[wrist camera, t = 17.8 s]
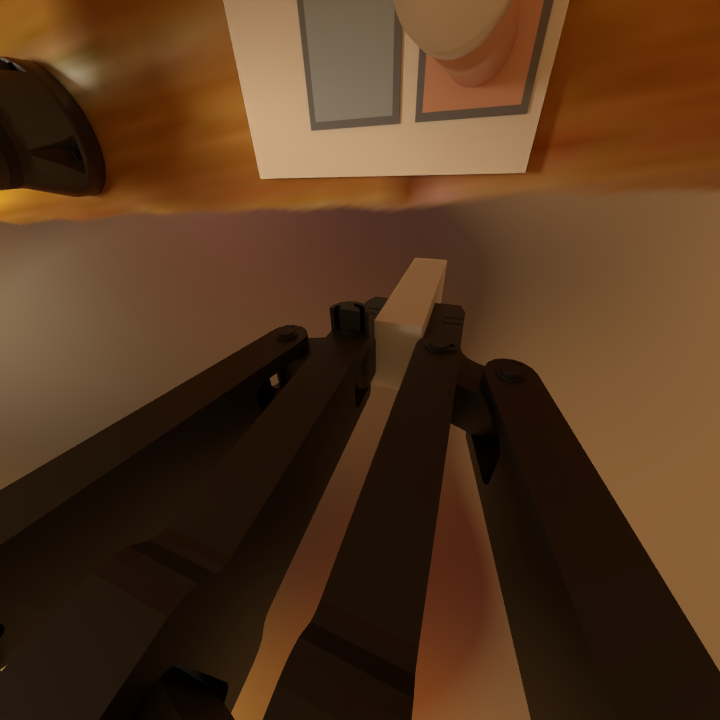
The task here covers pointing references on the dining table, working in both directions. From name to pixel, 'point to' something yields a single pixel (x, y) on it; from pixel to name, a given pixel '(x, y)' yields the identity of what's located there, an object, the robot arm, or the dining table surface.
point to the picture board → (381, 92)
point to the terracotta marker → (462, 34)
